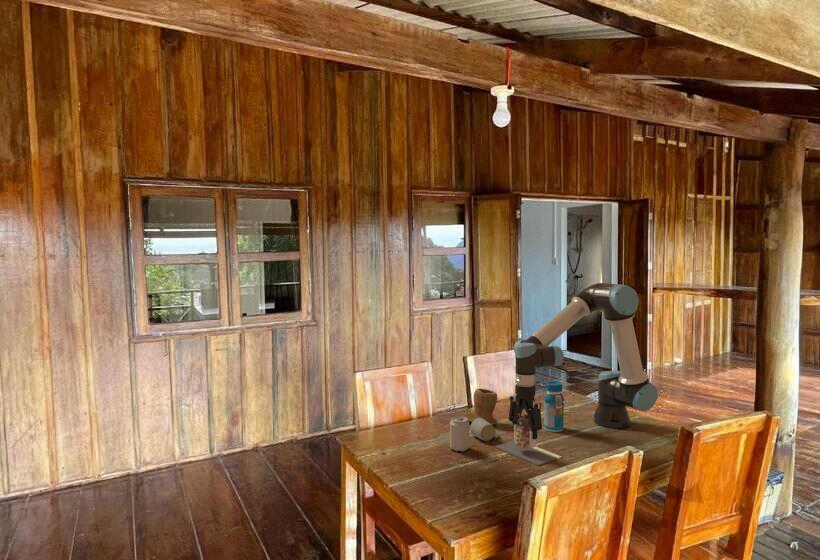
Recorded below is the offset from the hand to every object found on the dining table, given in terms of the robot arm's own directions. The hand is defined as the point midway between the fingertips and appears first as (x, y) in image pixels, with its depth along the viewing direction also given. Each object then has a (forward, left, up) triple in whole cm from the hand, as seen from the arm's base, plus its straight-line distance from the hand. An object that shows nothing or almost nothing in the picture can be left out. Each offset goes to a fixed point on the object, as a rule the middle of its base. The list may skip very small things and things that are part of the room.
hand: (524, 443), depth 203 cm
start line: (-7, 0, -4) cm, 8 cm away
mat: (0, 0, -4) cm, 4 cm away
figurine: (0, 0, -1) cm, 1 cm away
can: (+17, -18, -4) cm, 25 cm away
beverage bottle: (-30, -11, -4) cm, 32 cm away
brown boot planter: (-11, -36, -4) cm, 38 cm away
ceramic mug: (+1, -21, -4) cm, 21 cm away
